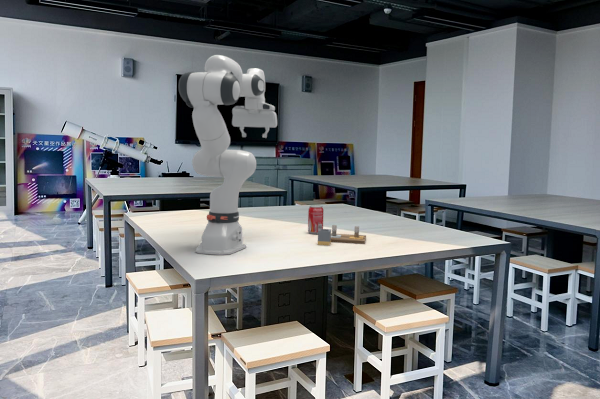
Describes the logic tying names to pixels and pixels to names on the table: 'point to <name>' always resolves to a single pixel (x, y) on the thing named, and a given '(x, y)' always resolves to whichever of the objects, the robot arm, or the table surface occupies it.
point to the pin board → (347, 236)
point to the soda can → (315, 219)
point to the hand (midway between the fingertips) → (254, 137)
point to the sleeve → (324, 236)
